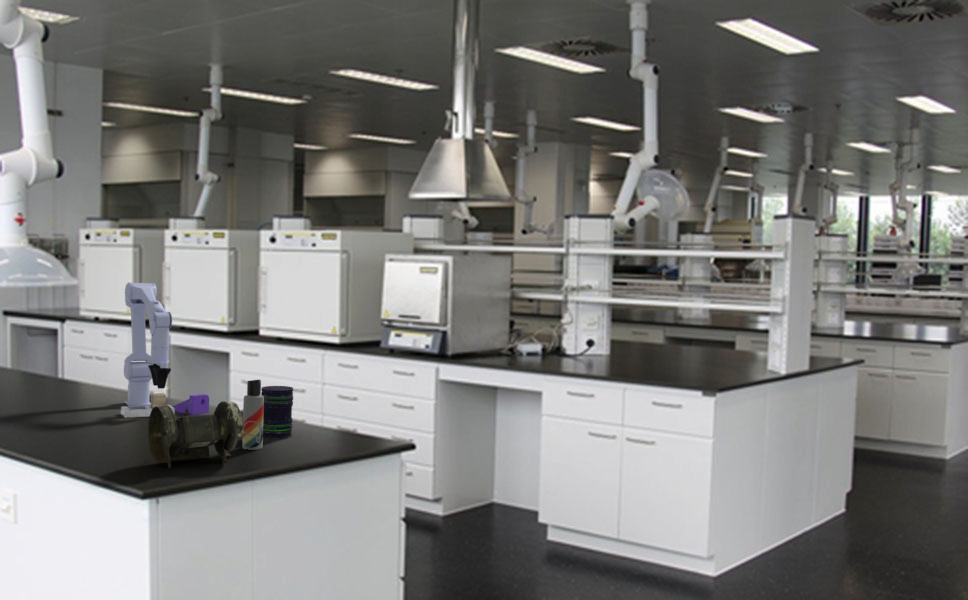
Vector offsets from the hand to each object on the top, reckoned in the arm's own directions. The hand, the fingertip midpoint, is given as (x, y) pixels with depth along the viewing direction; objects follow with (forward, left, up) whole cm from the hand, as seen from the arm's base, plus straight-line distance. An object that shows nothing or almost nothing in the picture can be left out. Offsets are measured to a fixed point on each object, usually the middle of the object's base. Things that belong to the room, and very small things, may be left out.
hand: (158, 386), depth 323 cm
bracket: (-2, +11, -10) cm, 15 cm away
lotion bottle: (+66, +14, -10) cm, 68 cm away
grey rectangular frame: (0, -3, -9) cm, 10 cm away
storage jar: (+50, +26, -10) cm, 57 cm away
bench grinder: (+79, -6, -10) cm, 80 cm away
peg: (0, 0, -9) cm, 9 cm away
